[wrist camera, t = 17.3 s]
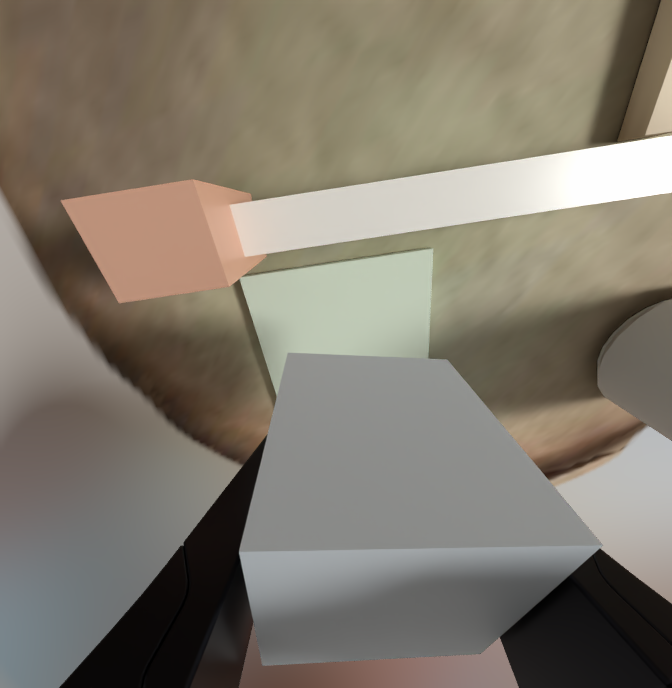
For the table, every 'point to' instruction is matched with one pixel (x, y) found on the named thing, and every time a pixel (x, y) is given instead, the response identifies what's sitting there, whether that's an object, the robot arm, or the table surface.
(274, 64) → the table surface
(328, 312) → the mat
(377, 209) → the bar
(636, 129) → the wooden u frame
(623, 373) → the can
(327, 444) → the block
